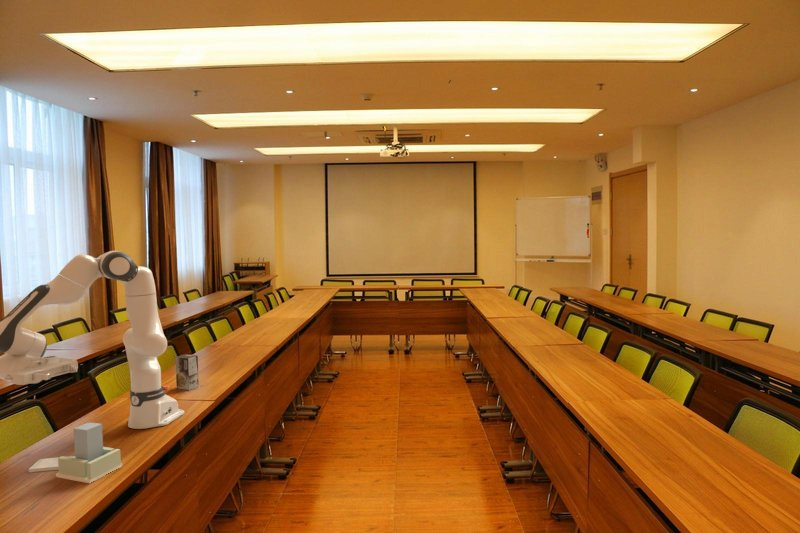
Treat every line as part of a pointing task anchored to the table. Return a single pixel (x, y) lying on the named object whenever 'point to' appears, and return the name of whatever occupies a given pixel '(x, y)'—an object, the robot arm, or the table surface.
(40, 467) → the hard drive
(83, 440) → the block
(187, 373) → the coffee box
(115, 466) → the cradle
